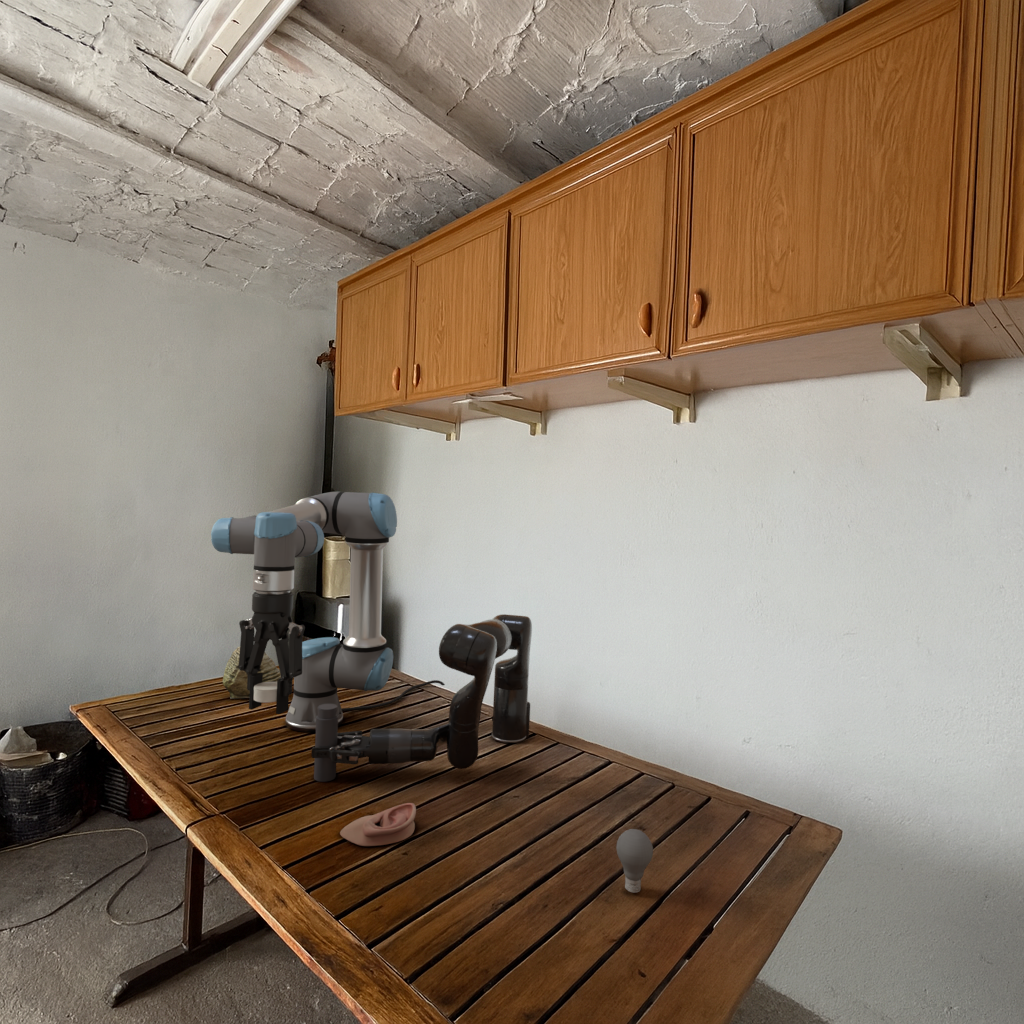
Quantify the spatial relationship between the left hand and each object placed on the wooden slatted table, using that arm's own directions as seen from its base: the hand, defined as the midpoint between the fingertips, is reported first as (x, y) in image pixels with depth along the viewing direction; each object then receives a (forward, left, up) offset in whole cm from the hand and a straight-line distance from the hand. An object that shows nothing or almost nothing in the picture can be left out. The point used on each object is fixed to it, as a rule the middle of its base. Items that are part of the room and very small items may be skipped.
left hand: (268, 709), depth 124 cm
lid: (0, 0, +4) cm, 4 cm away
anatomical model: (-12, +20, -21) cm, 32 cm away
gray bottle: (-19, -7, -21) cm, 29 cm away
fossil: (-38, -71, -21) cm, 83 cm away
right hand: (-17, -9, -15) cm, 24 cm away
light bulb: (-28, +65, -21) cm, 74 cm away
